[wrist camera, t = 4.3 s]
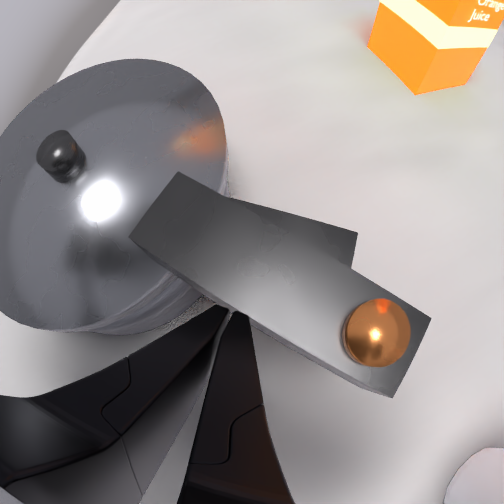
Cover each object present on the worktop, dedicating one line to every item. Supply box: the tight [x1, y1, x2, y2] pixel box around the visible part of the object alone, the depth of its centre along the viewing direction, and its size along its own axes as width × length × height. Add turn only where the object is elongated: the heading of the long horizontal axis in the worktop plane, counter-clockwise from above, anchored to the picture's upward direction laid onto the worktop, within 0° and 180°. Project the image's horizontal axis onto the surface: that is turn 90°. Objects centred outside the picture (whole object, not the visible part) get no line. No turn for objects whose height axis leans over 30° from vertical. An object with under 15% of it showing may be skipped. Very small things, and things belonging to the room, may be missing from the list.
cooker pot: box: [87, 180, 358, 335], centre depth 17 cm, size 15×24×6 cm, turn 73°
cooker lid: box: [0, 59, 431, 398], centre depth 12 cm, size 16×24×4 cm, turn 58°
